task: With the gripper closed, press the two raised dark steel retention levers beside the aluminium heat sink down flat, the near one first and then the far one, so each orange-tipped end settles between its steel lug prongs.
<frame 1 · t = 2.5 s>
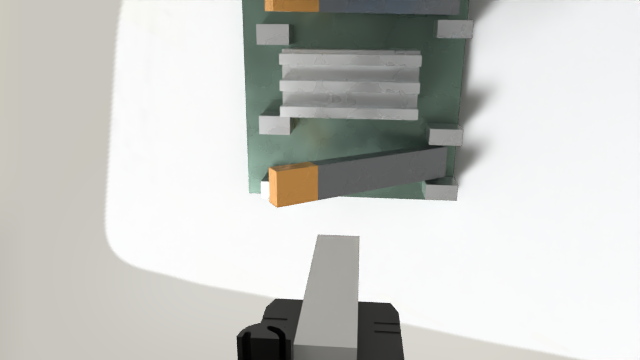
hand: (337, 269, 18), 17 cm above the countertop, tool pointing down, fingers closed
circuit board: (351, 78, 33), on the countertop
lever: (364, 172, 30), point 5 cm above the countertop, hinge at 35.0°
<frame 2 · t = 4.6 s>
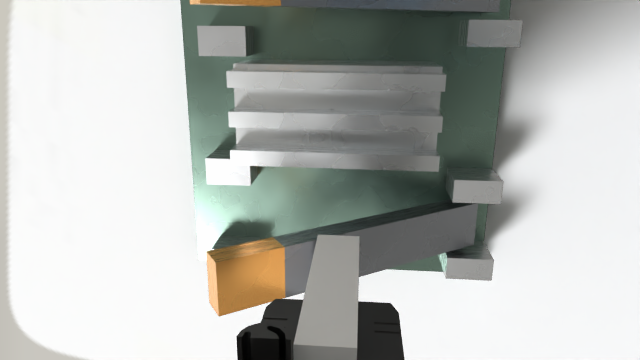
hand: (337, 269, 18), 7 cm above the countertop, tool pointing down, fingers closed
circuit board: (340, 102, 23), on the countertop
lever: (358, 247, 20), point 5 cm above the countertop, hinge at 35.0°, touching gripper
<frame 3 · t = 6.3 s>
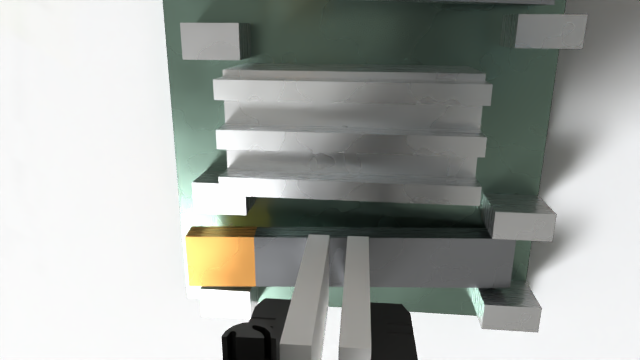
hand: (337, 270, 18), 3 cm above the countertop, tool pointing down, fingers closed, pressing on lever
circuit board: (354, 114, 20), on the countertop
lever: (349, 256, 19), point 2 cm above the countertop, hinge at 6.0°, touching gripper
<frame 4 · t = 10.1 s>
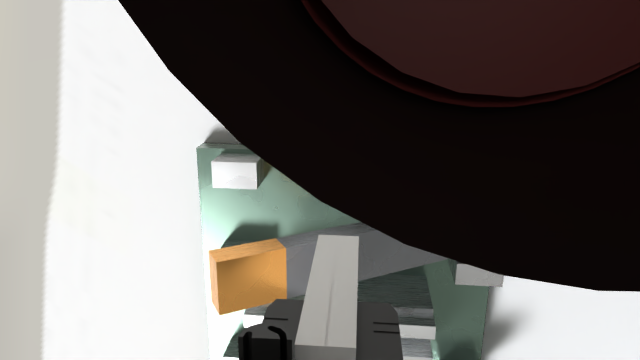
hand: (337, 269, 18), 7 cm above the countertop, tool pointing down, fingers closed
circuit board: (343, 297, 26), on the countertop
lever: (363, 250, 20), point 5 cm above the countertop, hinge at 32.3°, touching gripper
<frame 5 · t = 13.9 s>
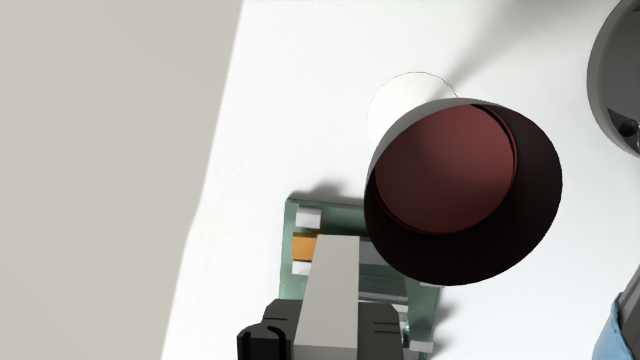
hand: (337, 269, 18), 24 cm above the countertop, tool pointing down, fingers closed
wineglass: (414, 118, 41), on the countertop
circuit board: (356, 288, 45), on the countertop
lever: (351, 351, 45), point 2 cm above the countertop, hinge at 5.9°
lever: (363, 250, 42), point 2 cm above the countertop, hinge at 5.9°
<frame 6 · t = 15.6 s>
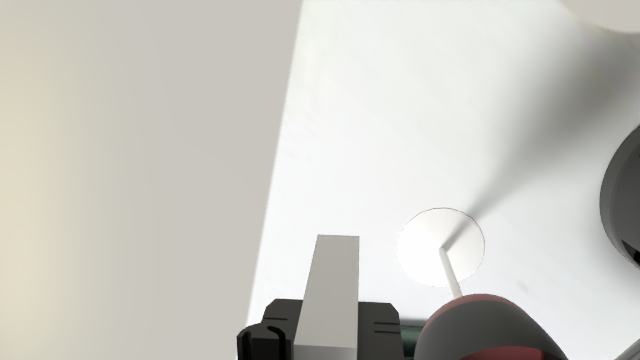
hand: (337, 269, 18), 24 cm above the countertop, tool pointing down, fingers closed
wineglass: (440, 247, 44), on the countertop
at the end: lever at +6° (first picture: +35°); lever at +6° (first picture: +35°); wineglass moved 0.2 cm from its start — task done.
